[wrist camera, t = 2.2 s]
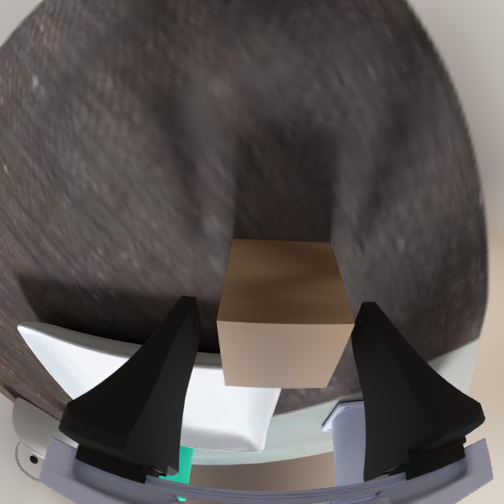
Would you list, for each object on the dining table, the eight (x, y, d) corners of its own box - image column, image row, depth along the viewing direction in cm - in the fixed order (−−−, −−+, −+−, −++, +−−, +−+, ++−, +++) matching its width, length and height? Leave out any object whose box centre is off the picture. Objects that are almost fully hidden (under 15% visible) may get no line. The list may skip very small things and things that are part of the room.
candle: (148, 425, 30) (132, 497, 20) (188, 431, 30) (175, 509, 20) (164, 438, 34) (152, 502, 24) (200, 443, 33) (191, 510, 23)
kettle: (58, 416, 43) (35, 488, 24) (99, 445, 56) (84, 503, 37) (5, 388, 44) (-18, 445, 26) (45, 421, 57) (28, 471, 39)
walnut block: (329, 242, 12) (354, 324, 8) (315, 309, 15) (325, 387, 11) (233, 238, 13) (216, 320, 8) (235, 307, 15) (225, 385, 11)
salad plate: (284, 330, 17) (286, 377, 14) (263, 432, 29) (262, 456, 26) (29, 296, 17) (9, 323, 14) (108, 406, 29) (102, 426, 26)
